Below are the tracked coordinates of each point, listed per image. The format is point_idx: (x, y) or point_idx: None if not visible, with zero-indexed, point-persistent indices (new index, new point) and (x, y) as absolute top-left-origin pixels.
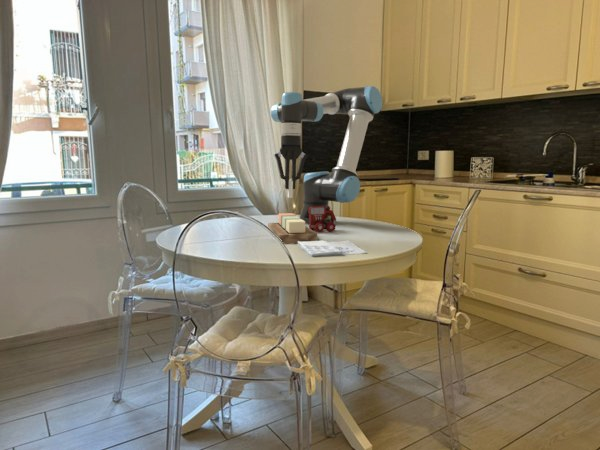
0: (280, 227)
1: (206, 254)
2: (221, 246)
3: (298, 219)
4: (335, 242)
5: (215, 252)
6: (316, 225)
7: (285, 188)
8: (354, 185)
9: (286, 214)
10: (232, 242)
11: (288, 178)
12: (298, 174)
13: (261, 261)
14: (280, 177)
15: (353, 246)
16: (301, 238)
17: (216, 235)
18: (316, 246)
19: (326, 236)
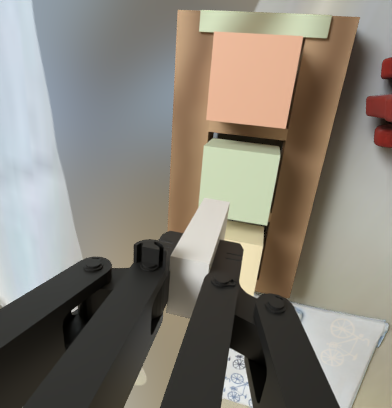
0: (203, 148)
1: (14, 294)
2: (33, 241)
3: (247, 247)
4: (326, 329)
5: (27, 286)
6: (384, 145)
7: (168, 235)
8: None
9: (246, 84)
10: (55, 207)
11: (153, 324)
12: (253, 392)
13: None
14: (82, 263)
15: (348, 380)
16: None
17: (4, 90)
18: None
19: (371, 218)
